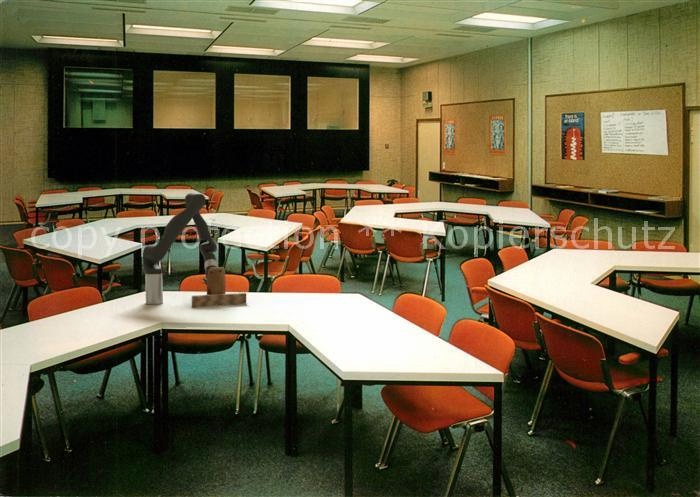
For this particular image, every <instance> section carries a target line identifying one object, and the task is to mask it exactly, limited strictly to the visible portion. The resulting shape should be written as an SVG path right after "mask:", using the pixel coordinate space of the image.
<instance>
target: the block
mask: <svg viewBox="0 0 700 497" xmlns="http://www.w3.org/2000/svg"><path fill="white" fill-rule="evenodd" d="M226 290H227V289H226V269H225V267H223V266H217V267H211V268H210V269H209V271H208V274H207V285H206V295H213V294H226Z"/></svg>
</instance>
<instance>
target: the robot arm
mask: <svg viewBox="0 0 700 497" xmlns="http://www.w3.org/2000/svg"><path fill="white" fill-rule="evenodd" d="M184 203H185V205H186V208H185V209H183V210H181V211H180V212H178V213H176V215H174V216H172V218H171V219H170V220H169V222H167V224H166V226H165V227H164V232H163V236H162V238H161V239H160V240H159V241H158V243H157V244H154V245H153V244H148V245H146V246H145V247H144V248H143V251H142V266H143V270H144V273H145V277H144V278H145V287H144V289H145V304H146V305H160V304H163V303H164V301H163V300H164V296H163V295H164V294H163V293H164V291H163V290H164V289H163V268H162V267H161V266H160V264H159V263H158V262H160V261H162V260H163V259H164V258H165V256H166V255H167V254H168V252H169V251H170V248H171V247H172V246H173V244H174V243H175V241H176V240H177V239H178V237H179V236H180V235H181V233H183V231H184V229H185V228H186V227H187V226H188V224H189V223H191V221H192V220H193V223H194V225H195V228H196V232H197V234H198V238H199V240H200V241H206V242H203V243H200V245H199V246H198V248H199V252H200V253H201V255H202V257H203V262H204V271H205V272H204V273H205V277H204V278H202V283H203V284H204V285H206V286H207V274H208V271H209V269H210V268H211V267H218V263H217V258H216V254H214V253H215V252H217V250H218V245H217V243H216V242H215V240H214V239H213V237H212V235H211V232H210V229H209V226H208V222H206V220H205V219H204V218H203V216H202V215H201V213H200V211H201V209H203V208H204V206H205V204H206V196H205V195H204V194H202V193H198V192H189V193H186V195H185V197H184Z"/></svg>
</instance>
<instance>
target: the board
mask: <svg viewBox="0 0 700 497" xmlns="http://www.w3.org/2000/svg"><path fill="white" fill-rule="evenodd" d="M234 305H247V293H246V292H236V293H234V292H233V293H232V292H231V293H225V294H213V295H207V294H198V295H195V294H194V295H191V307H192V308H201V307H202V308H203V307H217V306H218V307H219V306H234Z"/></svg>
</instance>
